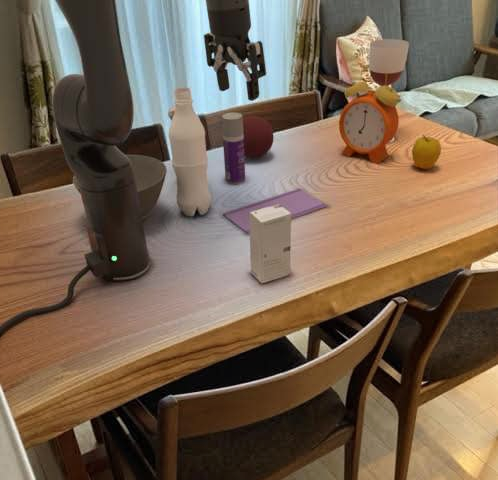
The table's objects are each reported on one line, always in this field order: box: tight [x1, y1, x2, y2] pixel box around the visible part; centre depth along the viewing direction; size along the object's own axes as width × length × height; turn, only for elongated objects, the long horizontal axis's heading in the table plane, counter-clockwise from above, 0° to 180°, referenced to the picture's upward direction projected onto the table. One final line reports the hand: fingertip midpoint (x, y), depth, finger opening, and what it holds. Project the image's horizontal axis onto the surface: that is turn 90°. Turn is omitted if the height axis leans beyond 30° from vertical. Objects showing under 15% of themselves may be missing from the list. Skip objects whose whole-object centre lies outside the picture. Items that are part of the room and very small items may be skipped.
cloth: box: [222, 188, 328, 235], centre depth 115 cm, size 20×10×1 cm, turn 122°
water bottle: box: [168, 86, 212, 217], centre depth 108 cm, size 7×7×25 cm
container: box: [221, 112, 246, 185], centre depth 122 cm, size 5×5×15 cm
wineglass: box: [368, 38, 410, 144], centre depth 138 cm, size 9×10×23 cm
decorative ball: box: [242, 115, 274, 159], centre depth 134 cm, size 10×10×10 cm
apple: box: [411, 134, 442, 170], centre depth 127 cm, size 6×6×8 cm
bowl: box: [72, 154, 168, 219], centre depth 112 cm, size 19×19×10 cm
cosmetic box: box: [249, 205, 292, 284], centre depth 93 cm, size 6×4×12 cm
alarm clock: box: [338, 68, 400, 164], centre depth 130 cm, size 13×6×20 cm, turn 53°
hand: (238, 94), depth 106 cm, fingers open, 8 cm apart
